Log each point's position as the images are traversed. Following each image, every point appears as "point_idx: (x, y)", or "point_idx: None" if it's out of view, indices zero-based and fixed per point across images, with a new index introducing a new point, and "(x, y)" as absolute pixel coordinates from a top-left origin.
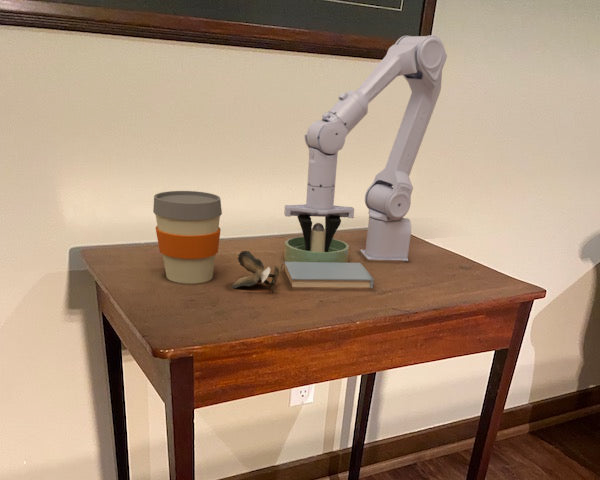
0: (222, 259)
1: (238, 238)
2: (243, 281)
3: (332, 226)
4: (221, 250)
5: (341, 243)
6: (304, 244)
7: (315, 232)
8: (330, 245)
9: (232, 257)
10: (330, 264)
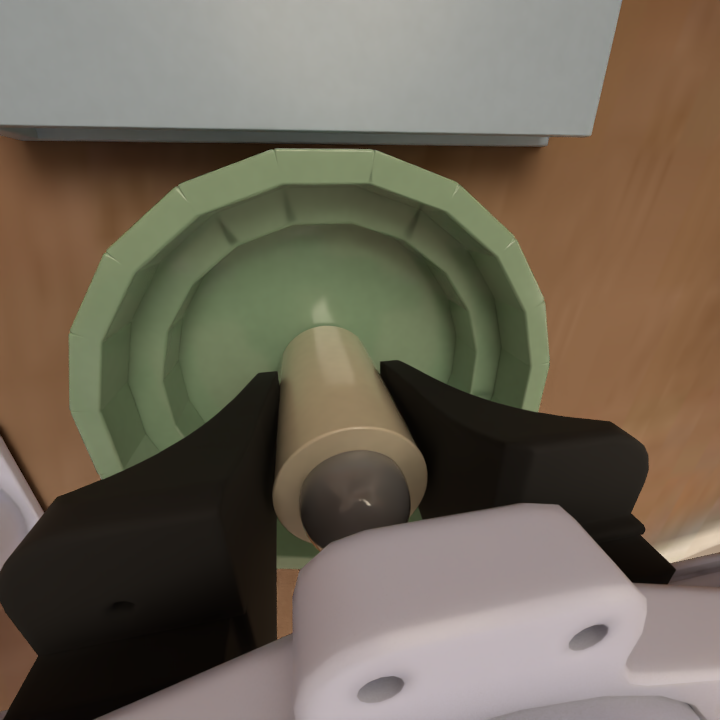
0: (715, 347)
1: None
2: None
3: (194, 466)
4: (664, 456)
5: None
6: None
7: (389, 425)
8: None
9: (667, 380)
10: (255, 52)
